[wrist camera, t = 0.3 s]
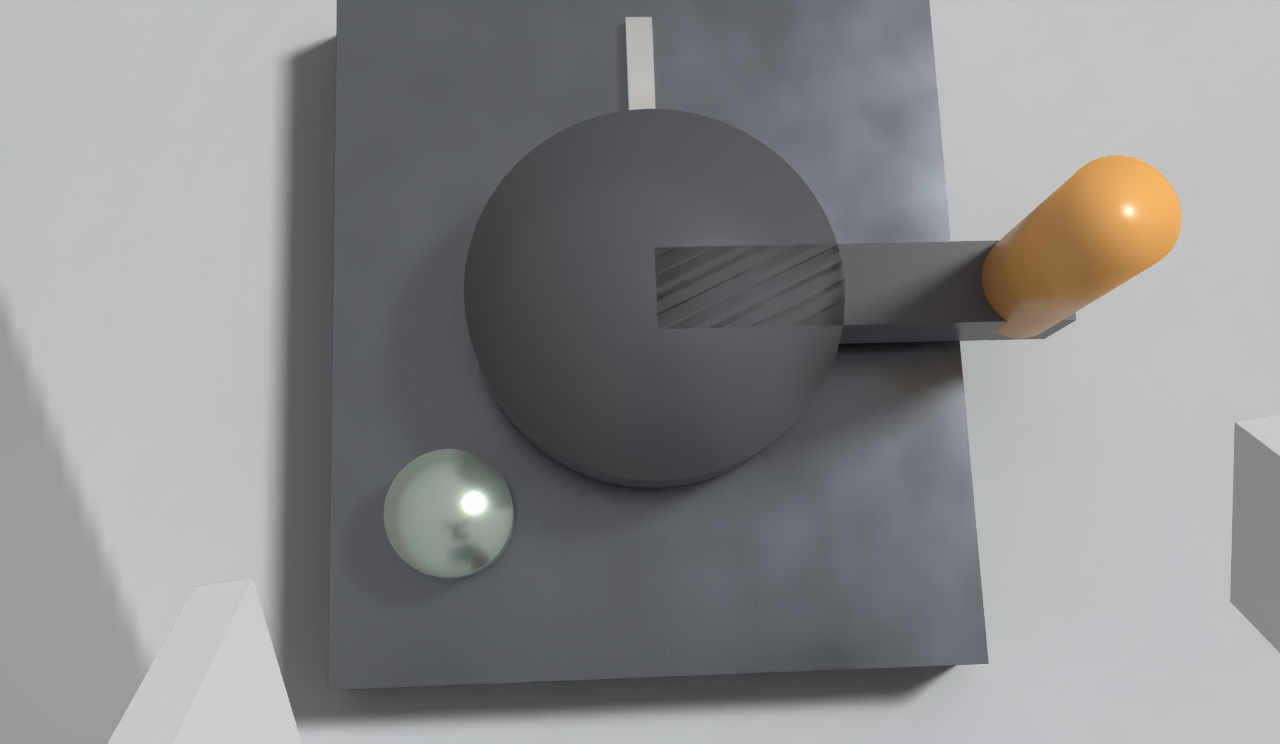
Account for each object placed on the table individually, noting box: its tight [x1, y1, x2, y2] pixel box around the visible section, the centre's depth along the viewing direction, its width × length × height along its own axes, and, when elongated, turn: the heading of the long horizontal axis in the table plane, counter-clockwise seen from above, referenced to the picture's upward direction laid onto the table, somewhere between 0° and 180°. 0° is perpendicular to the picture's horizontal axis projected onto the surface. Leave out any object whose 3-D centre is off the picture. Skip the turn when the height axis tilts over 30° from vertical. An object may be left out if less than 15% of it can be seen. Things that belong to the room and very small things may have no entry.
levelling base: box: [328, 0, 988, 690], centre depth 32 cm, size 18×16×3 cm
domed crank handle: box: [464, 109, 1181, 488], centre depth 28 cm, size 15×9×7 cm, turn 92°
